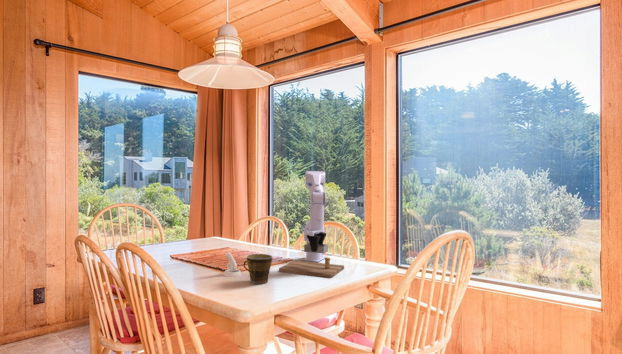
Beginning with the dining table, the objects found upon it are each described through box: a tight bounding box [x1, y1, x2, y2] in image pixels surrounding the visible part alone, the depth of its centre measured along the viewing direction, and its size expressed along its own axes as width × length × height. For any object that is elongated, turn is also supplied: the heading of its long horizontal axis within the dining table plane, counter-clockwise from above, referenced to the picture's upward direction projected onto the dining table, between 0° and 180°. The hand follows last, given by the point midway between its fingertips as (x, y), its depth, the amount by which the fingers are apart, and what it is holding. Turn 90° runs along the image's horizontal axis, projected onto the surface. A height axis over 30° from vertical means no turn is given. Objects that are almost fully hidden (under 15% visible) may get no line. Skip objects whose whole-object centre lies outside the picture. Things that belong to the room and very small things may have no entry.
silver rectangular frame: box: [303, 243, 329, 254], centre depth 177 cm, size 6×9×3 cm, turn 68°
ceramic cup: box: [243, 253, 273, 285], centre depth 155 cm, size 13×10×10 cm
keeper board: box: [278, 256, 345, 279], centre depth 178 cm, size 18×24×6 cm
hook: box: [223, 251, 243, 278], centre depth 166 cm, size 8×12×7 cm
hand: (316, 250), depth 177 cm, fingers closed on silver rectangular frame, 6 cm apart
